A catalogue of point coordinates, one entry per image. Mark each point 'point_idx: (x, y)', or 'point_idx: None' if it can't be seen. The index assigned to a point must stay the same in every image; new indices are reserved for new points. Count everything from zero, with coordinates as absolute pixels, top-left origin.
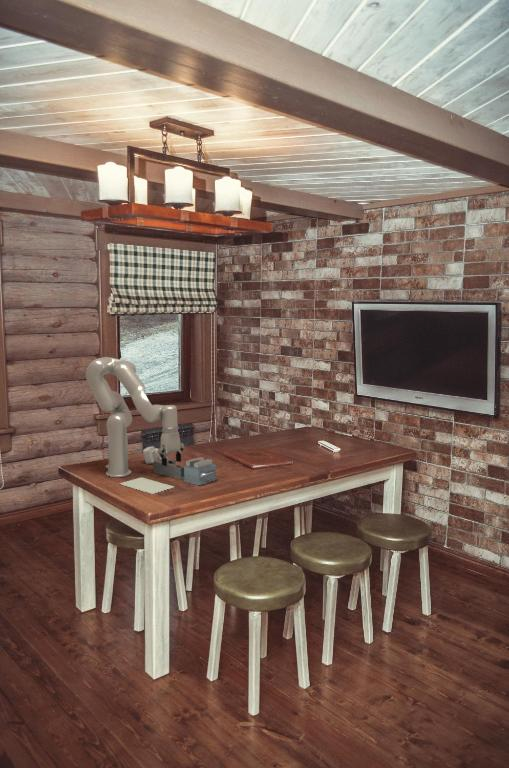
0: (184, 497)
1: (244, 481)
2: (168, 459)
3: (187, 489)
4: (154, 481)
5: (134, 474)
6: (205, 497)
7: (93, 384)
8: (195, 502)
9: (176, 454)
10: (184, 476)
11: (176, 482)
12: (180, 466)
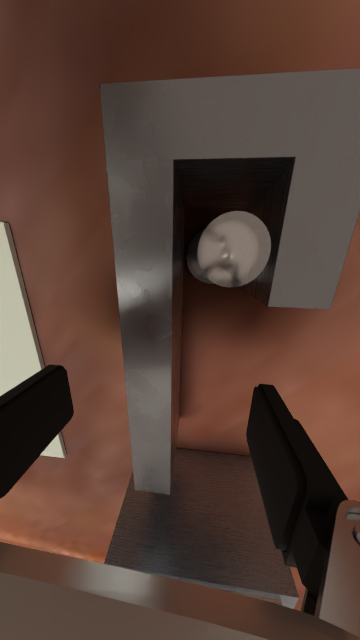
0: (35, 516)
1: (294, 574)
2: (321, 199)
3: (89, 491)
4: (30, 350)
5: (4, 78)
6: (83, 549)
7: None
8: (38, 546)
9: (290, 480)
10: (131, 476)
11: (114, 422)
12: (163, 471)
